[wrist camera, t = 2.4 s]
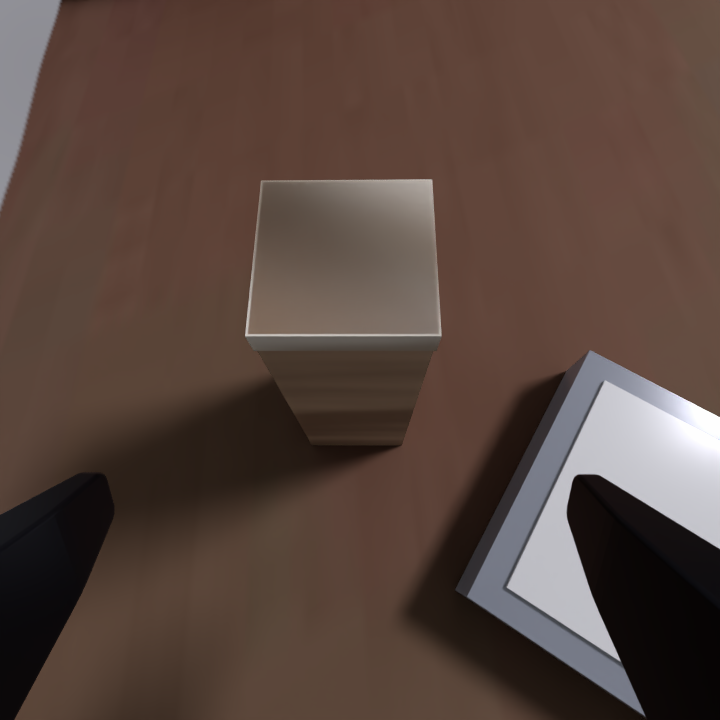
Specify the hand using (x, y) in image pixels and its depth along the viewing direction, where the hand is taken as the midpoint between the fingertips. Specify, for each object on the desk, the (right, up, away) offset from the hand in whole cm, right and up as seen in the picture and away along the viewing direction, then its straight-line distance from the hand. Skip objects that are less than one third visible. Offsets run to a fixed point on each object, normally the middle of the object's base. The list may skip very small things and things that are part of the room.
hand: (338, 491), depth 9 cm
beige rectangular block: (0, +1, +13) cm, 13 cm away
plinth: (+12, -5, +10) cm, 16 cm away
